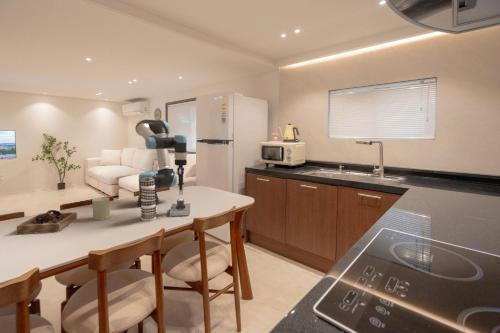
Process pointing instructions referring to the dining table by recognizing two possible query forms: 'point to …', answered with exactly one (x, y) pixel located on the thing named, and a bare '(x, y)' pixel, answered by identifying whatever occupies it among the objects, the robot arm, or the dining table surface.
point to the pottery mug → (49, 217)
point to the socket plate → (180, 210)
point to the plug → (180, 204)
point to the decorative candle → (148, 199)
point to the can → (101, 208)
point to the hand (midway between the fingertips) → (181, 194)
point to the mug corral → (33, 225)
